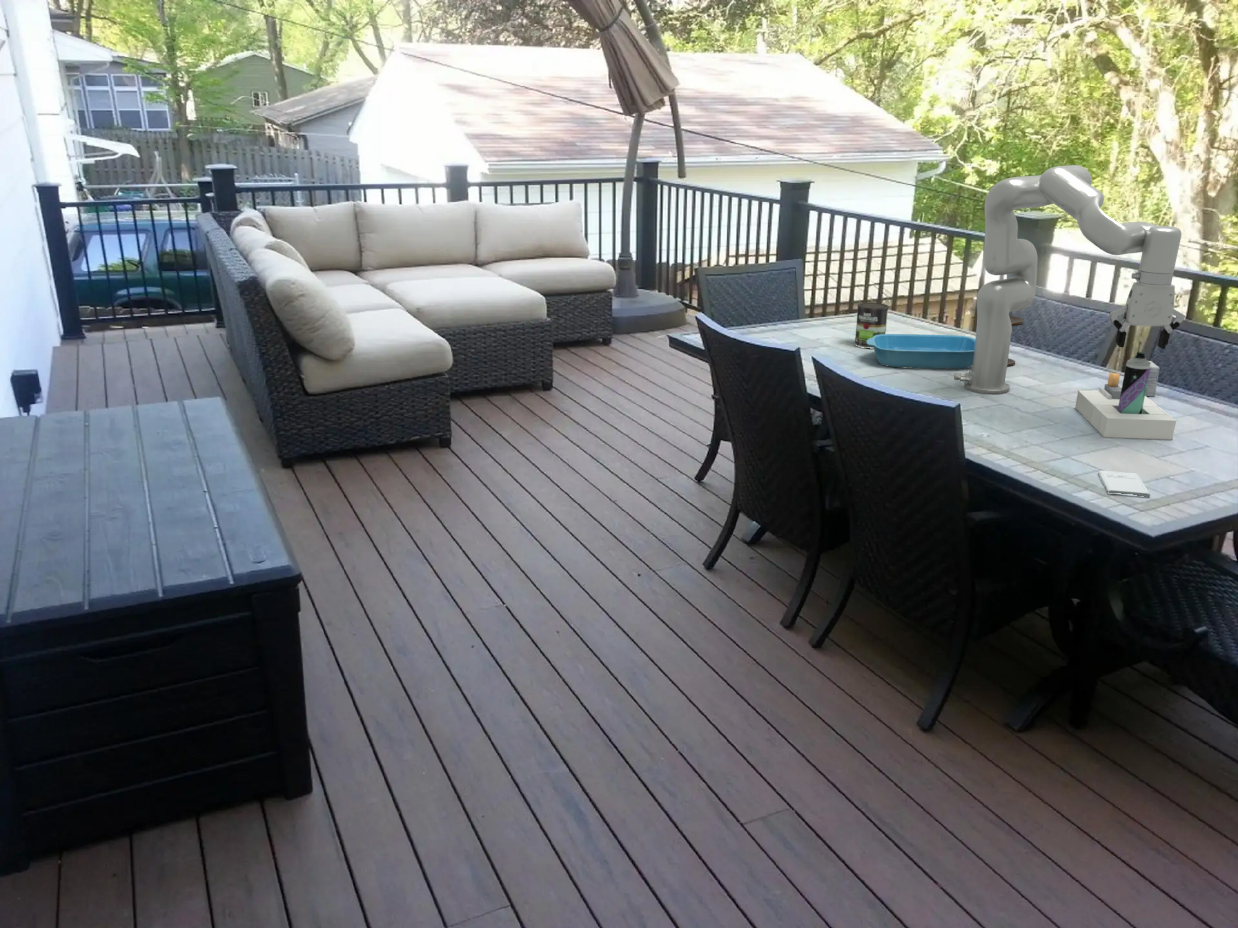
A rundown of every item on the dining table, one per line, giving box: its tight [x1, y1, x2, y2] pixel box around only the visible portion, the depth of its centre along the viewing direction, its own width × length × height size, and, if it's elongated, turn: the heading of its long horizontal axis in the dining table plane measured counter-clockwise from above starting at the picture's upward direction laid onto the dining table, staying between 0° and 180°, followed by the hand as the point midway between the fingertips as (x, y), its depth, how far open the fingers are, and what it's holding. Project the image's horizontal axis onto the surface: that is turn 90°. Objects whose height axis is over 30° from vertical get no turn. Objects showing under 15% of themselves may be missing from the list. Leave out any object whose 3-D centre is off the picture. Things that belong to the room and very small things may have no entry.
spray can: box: [1118, 351, 1151, 414], centre depth 244 cm, size 6×6×20 cm
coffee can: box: [854, 302, 890, 350], centre depth 331 cm, size 10×10×14 cm
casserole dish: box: [866, 333, 976, 370], centre depth 311 cm, size 37×22×7 cm, turn 80°
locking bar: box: [1103, 372, 1122, 399], centre depth 257 cm, size 3×7×5 cm, turn 172°
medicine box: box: [1145, 360, 1160, 398], centre depth 276 cm, size 8×4×9 cm, turn 169°
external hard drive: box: [1097, 470, 1151, 499], centre depth 211 cm, size 2×8×12 cm
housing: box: [1074, 387, 1177, 441], centre depth 251 cm, size 16×25×6 cm, turn 171°
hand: (1140, 346), depth 241 cm, fingers open, 9 cm apart
